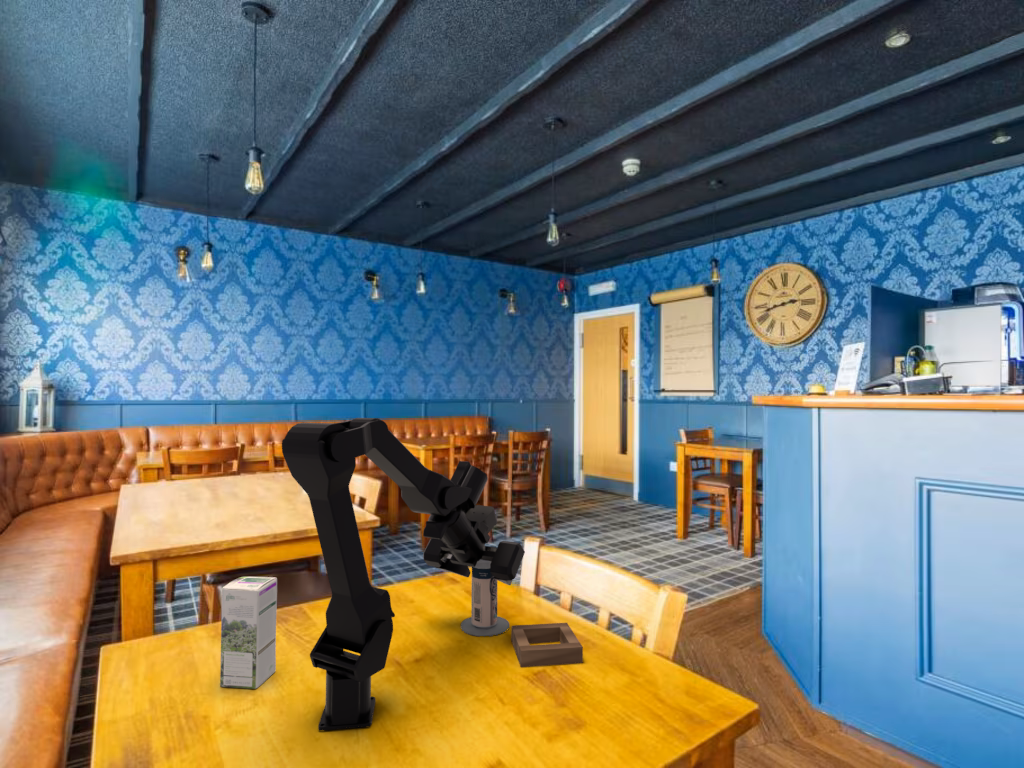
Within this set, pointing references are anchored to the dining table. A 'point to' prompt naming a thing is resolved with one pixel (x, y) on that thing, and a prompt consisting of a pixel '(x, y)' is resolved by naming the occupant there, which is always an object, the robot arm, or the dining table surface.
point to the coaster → (495, 630)
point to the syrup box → (248, 632)
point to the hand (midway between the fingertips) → (489, 578)
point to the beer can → (483, 596)
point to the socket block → (548, 653)
